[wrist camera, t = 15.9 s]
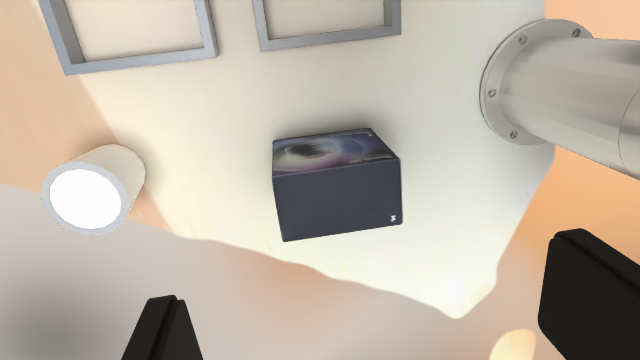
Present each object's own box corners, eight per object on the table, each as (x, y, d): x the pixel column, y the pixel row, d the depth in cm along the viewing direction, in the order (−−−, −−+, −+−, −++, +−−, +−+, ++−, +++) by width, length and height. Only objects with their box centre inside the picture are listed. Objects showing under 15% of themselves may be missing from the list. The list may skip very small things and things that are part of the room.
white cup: (64, 169, 38) (21, 199, 31) (110, 123, 36) (76, 144, 30) (121, 214, 40) (93, 250, 34) (167, 172, 39) (146, 202, 32)
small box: (371, 123, 40) (404, 155, 30) (375, 180, 42) (406, 227, 32) (270, 137, 39) (270, 175, 29) (280, 194, 41) (282, 247, 32)
